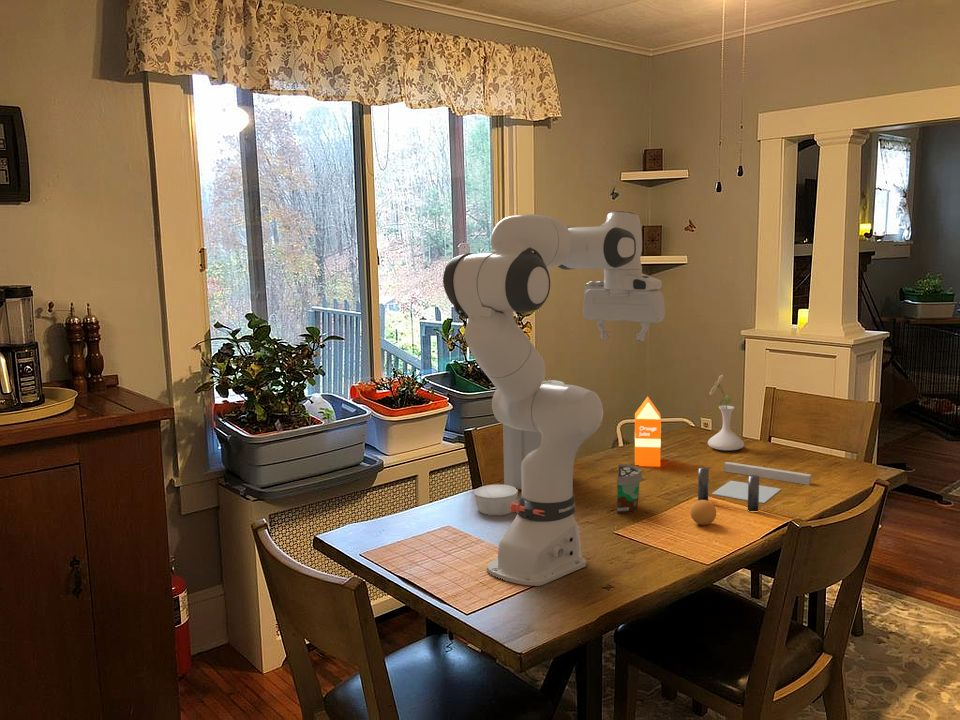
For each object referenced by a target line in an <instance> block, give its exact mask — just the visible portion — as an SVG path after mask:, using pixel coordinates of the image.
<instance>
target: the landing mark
mask: <svg viewBox="0 0 960 720" xmlns="http://www.w3.org/2000/svg"><path fill="white" fill-rule="evenodd" d="M781 490H782V489H781V488H778V487H772V486H767V485H761V484H759V504H765V503H767V502H768V501H769V500H770V499H772V497H774V496H775V495H776V494H778V493H779V492H780V491H781ZM711 495H715V496H719V497H727V498H732V499H736V500H743V501H746V502H748V482H743V481H737V480H729V481H727V482H726V483H725V484H723V485H722V486H720V487H718V489H716V490H715V491H713V492H712V493H711Z"/></svg>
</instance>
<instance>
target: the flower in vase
mask: <svg viewBox="0 0 960 720" xmlns="http://www.w3.org/2000/svg"><path fill="white" fill-rule="evenodd" d="M723 379H724V374H723V373H722V374H721V375H719V376H718V380H717V381H715V382H714V385H713V387H711V388H710V392H709V393H708V394H709V396H711V395H713V394H714V393H715V392H716V390H717V389H718V388H719V390H720V391H721V393H722V395H723V398H722V399H721V400H720V401H719V403H718V409H719V410H720V412H721V416H722V428H721V429H720V430H719V431H718V432H717V433H716V434H714V435H713V436H711V437H710V438H709V439H708V441H707V445H708V446H709V447H710V448H712V449H715V450H718V451H737V450H740V449H743V448H744V446H745V442H744V441H743V440H742V439H741V438H740V437H739V436H738V435H737V434H735V432H734V431H732V429H731V416H732V412H733V411H734V410H735V408H736V407H735V406H732V405H728V404H730V403H731V402H732V399H731V398H730V395H729V394H726V395H725V392H724V390H723V389H722V386H721V382H722V381H723ZM723 404H725V405H723Z"/></svg>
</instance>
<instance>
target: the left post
mask: <svg viewBox="0 0 960 720" xmlns="http://www.w3.org/2000/svg"><path fill="white" fill-rule="evenodd" d="M709 470H710V468H709V467H707V466H699V467H698V471H697V472H698V474H697V476H698V479H697V483H698V485H697V501H699V500H707V501H709V483H710V482H709V481H710V479H709V478H710V475H709V474H710V471H709Z"/></svg>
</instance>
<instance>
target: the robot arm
mask: <svg viewBox="0 0 960 720" xmlns="http://www.w3.org/2000/svg"><path fill="white" fill-rule="evenodd" d="M641 224H642V223H641V219H640V217H639V215H638V214H636V213H634V212H630V211H622V210H621V211H619V210H618V211H611V212H609V213H607V215H606V219H605V222H603V223H602V224H600V226H567V225H566V224H565V223H564V222H563V221H561V220H559V219H558V218H555V217H553V216H549V215H543V214H534V213H533V214H532V213H525V214H524V213H523V214H516V215H515V214H514V215H511V216H506V217H504V218H502V219H501V220H500V221H498V222H497V223H496V224H495V226H494V228H493V230H492V233H491V237H490V244H491V245H490V246H491V249H492V251H491V252H484V253H483V252H482V253H472V252H471V253H470V252H469V253H464V254H460V255H456V256H455V257H453V258H451V259H450V260H449V261H448V262H447V264H446V266H445V268H444V272H443V277H442V284H443V285H442V286H443V289H444V291H445V294H446V296H447V299H448V300H449V302H450V303H451V304H452V305H453V307H454V311H455V312H456V314H458V315H459V316H461V317H462V318H467V319H468V321H467V323H466V326H465V328H464V340H465V342H466V345H467V347H468V349H469V351H470V354H471V355H472V357H473V359H474V360H475V362H476V363H477V365H478V366H479V368H480V369H481V370H482V371H483V373H484V375H486V376H487V379H489V381H491V383H492V384H493V386H494V387H495V391H494V393H493V395H492V399H491V408H492V412H493V415H494V417H495V419H496V420H497V422H499V423H500V424H502V425H503V424H505V425H507V426H510V427H512V428H515V429H518V430H524V431H530V432H537V433H541V435H542V440H541V445H540V448H537V449H535V450H533V451H531V452H530V453H528V454H527V455H526V456H525V458H524V459H523V461H522V464H521V479H522V489H521V493H520V495H519V499H518V501H517V502H518V503H517V502H516V503H515V502H512V503H511V505H510V510H511V513H516V516H515V518H514V519H513V521H512V522H511V524H510V525H509V526H508V528H507V530H506V532H505V533H504V534H503V536H502V538H501V539H500V540H499V543H498V550H497V556H496V557H495V559H494V560H492V561H491V562H489V564H488V565H487V566H486V572H487V571H488V572H489V573H490V575H491V574H492V575H491V576H493V577H495V576H496V577H495V578H497V577H498V578H497V579H500V578H501V579H500V580H502V579H503V581H506V582H508V583H509V582H510V583H512V584H513V583H514V584H517V585H523V586H531V587H532V586H533V587H534V586H535V587H537V586H539V587H540V586H544V585H546V584H549V583H550V582H552V581H555V580H557V579H559V578H562V577H564V576H566V575H568V574H571V573H573V572H575V571H578V570H580V569H582V568H585V567H587V561H586V559H585V558H584V557H583V556H582V555H583V554H582V544H581V543H582V541H581V535H580V534H581V532H580V527H579V524H578V523H577V521H576V518H575V514H574V513H576V498H575V494H574V491H573V490H574V488H573V487H574V486H573V485H574V484H573V481H574V480H573V479H574V464H575V459H576V455H577V453H578V451H579V449H580V446H581V445H582V444H583V443H584V442H585V441H586V440H587V439H588V438H590V437H591V436H592V435H594V434H595V433H596V432H597V430H599V428H600V426H601V424H602V422H603V417H604V407H603V403H602V400H601V398H600V396H599V395H598V393H597V392H595V391H593V390H590V389H588V388H585V387H582V386H578V385H575V384H569V383H568V384H566V383H564V384H559V383H550V382H546V381H547V380H545V377H546V362H545V360H544V358H543V357H542V355H541V354H540V353H539V351H538V350H537V348H536V347H535V346H534V344H533V343H532V341H531V340H530V338H529V337H528V336H527V335H526V334H525V332H524V331H523V329H522V328H520V326H519V325H518V324H517V322H516V320H515V317H514V312H516V313H519V314H521V313H524V314H525V313H531V312H535V311H538V310H540V309H541V308H542V306H544V304H545V302H546V301H547V299H548V297H549V294H550V290H551V277H550V272H549V270H550V269H553V268H554V269H555V268H557V267H558V268H559V269H561V270H563V271H565V270H578V269H579V270H603V280H601V281H600V280H599V281H594V280H590V281H589V282H587V283H585V286H584V288H583V296H584V299H583V304H582V316H583V318H584V319H585V320H595V321H596V322H595V323H596V325H595V326H596V327H597V330H599V332H600V339H603V340H605V339H607V340H608V339H609V338H610V330H607V329H606V327H605V325H606V321H615V322H616V321H617V322H618V321H619V322H636V323H637V322H639V323H640V328H641V327H642V328H641V330H640V332H636V334H635V336H636V338H635V339H636V342H644V341H645V340H646V333H647V331H649V328H650V326H651V323H660V322H663V320H664V319H665V317H666V305H665V303H666V302H665V297H664V293H663V292H662V291H661V290H660V289H662V286H663V282H662V280H660V279H658V278H655V277H652V276H649V275H647V274H644V273H643V266H642V263H641V256H642V252H643V235H642V234H643V232H642V225H641ZM488 572H487V573H488ZM489 573H488V574H489Z"/></svg>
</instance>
